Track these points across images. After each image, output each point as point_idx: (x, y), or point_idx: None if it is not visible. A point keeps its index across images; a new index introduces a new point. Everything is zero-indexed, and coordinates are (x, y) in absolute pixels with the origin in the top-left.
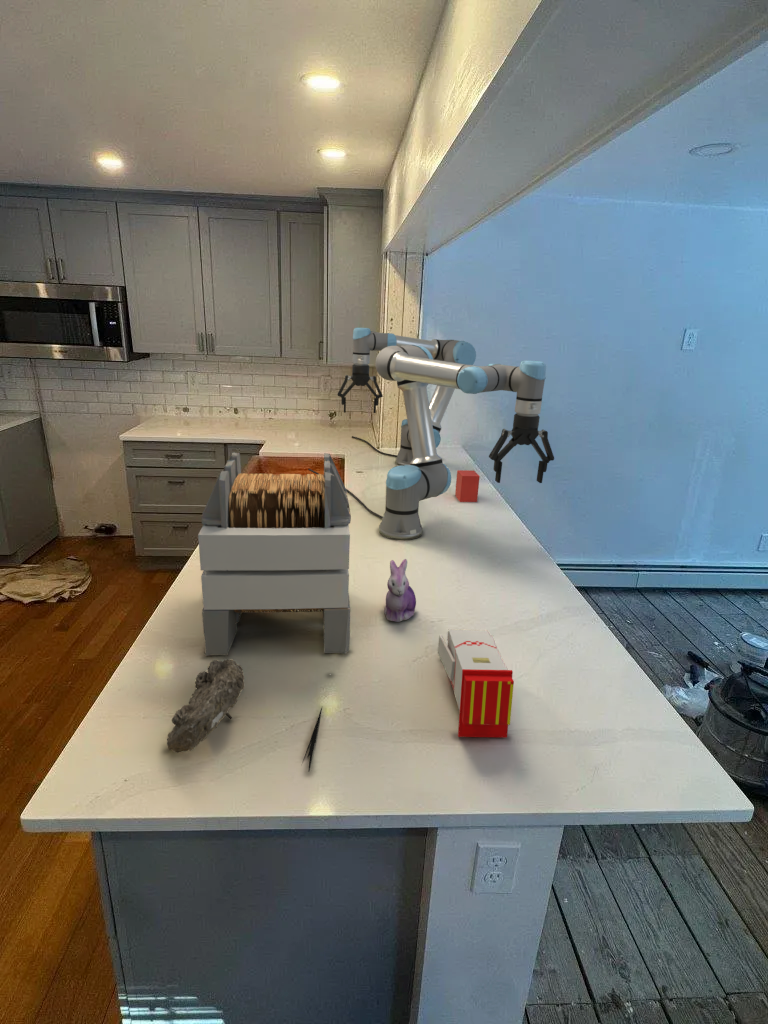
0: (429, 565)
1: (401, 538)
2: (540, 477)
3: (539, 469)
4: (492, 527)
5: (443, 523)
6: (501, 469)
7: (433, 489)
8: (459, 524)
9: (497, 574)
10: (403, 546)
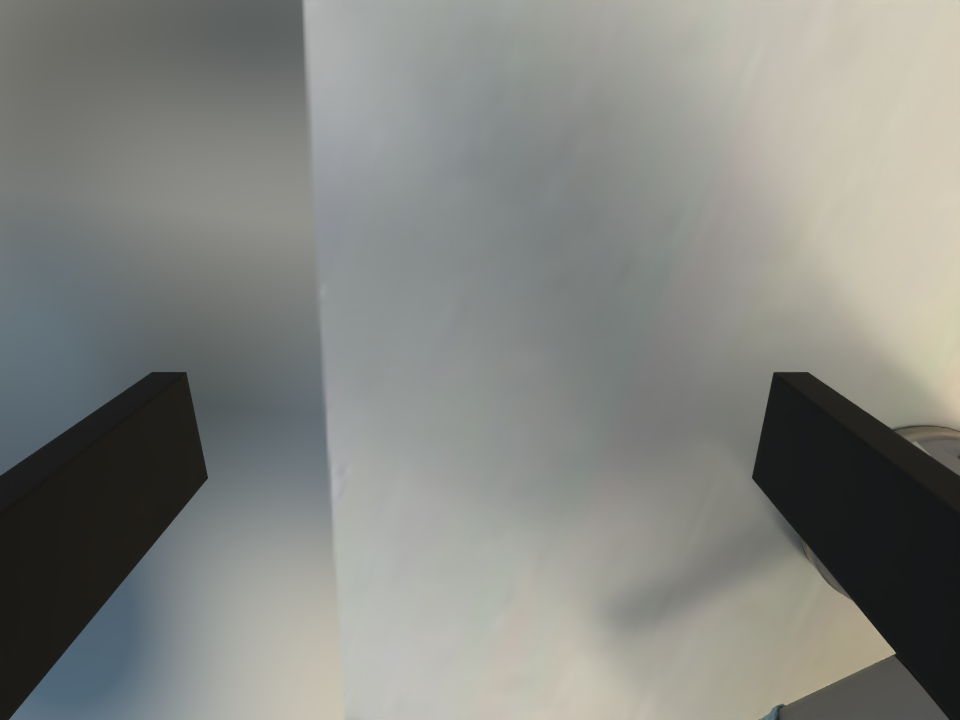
0: (935, 136)
1: (944, 430)
2: (138, 410)
3: (83, 554)
4: (452, 555)
5: (661, 596)
6: (919, 485)
7: (888, 709)
8: (593, 586)
9: (625, 3)
10: (955, 363)
